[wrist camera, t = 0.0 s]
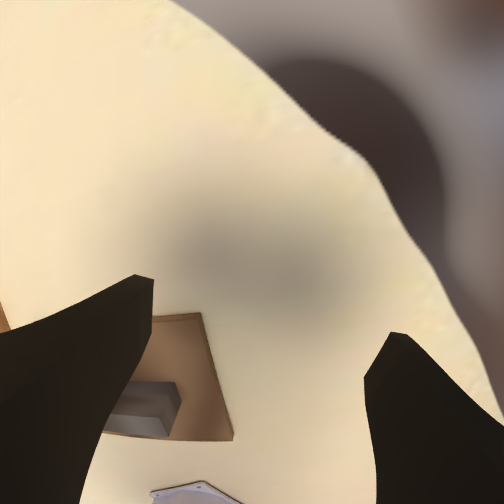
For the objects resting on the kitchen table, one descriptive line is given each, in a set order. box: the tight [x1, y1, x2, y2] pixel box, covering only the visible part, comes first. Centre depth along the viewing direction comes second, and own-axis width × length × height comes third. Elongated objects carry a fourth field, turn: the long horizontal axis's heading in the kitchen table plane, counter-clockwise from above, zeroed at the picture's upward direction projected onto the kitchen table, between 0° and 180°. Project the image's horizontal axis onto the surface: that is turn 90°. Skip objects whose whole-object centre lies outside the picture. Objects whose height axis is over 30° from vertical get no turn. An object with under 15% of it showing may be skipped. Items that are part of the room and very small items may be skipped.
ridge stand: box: [102, 313, 234, 441], centre depth 20 cm, size 16×12×5 cm
